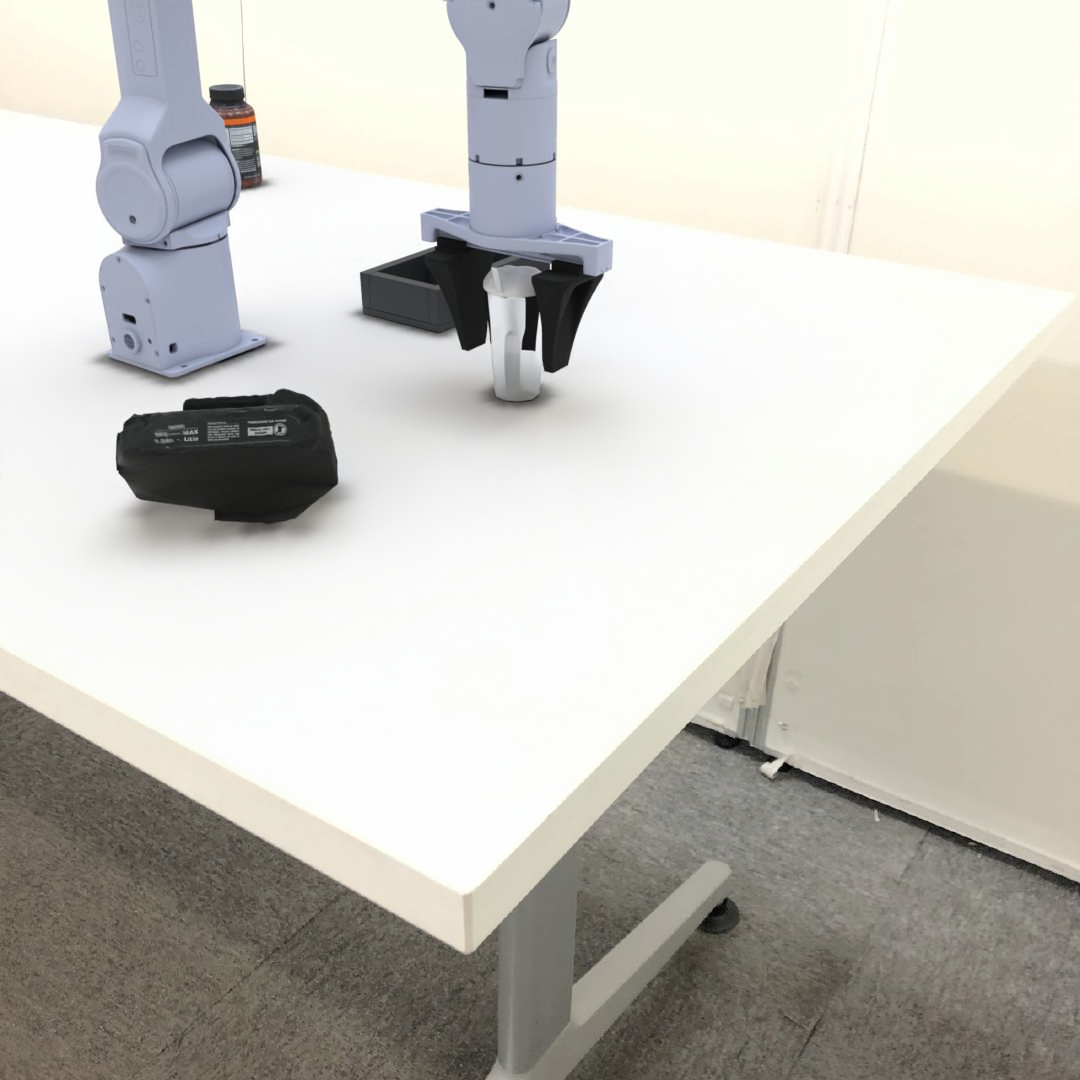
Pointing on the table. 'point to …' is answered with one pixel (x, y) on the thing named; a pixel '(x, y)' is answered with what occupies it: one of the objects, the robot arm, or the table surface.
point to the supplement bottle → (239, 130)
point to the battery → (232, 456)
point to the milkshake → (514, 332)
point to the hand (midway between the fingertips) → (513, 357)
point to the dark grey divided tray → (417, 290)
